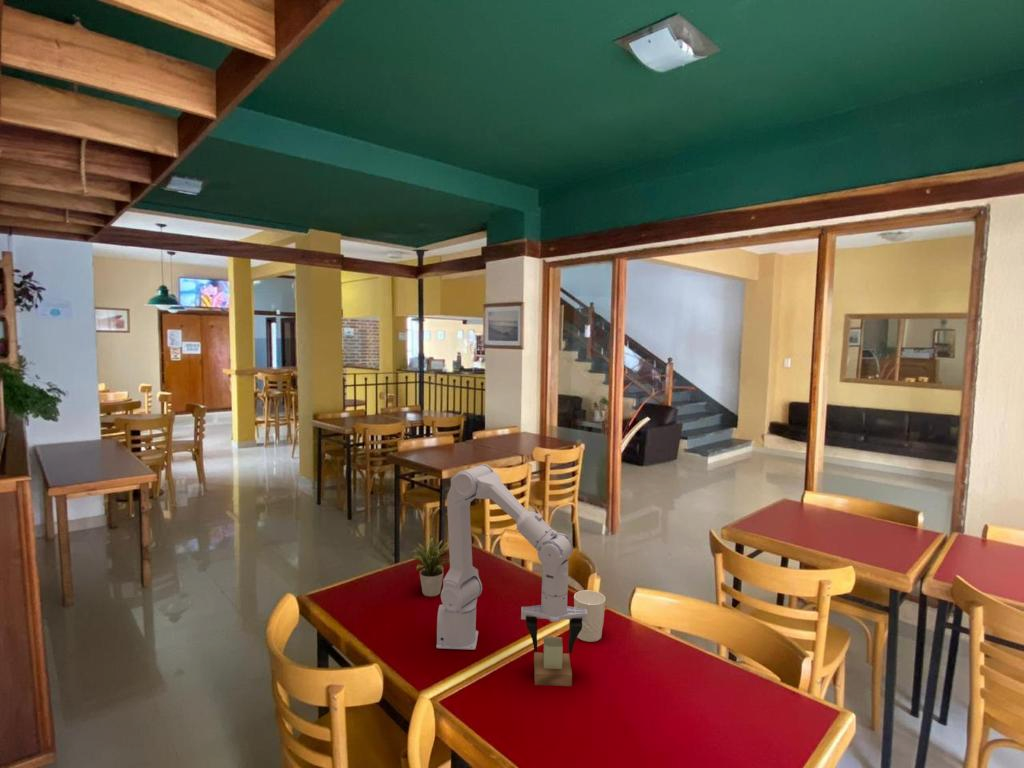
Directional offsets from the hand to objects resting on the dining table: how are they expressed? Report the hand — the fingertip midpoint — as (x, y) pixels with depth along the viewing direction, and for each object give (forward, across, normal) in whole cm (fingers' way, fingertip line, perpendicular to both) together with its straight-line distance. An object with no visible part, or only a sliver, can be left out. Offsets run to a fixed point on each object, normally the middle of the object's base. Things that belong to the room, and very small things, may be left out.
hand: (552, 649), depth 119 cm
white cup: (+6, +10, +17) cm, 21 cm away
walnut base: (+6, 0, 0) cm, 6 cm away
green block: (+3, 0, 0) cm, 3 cm away
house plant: (+6, -34, +36) cm, 50 cm away
